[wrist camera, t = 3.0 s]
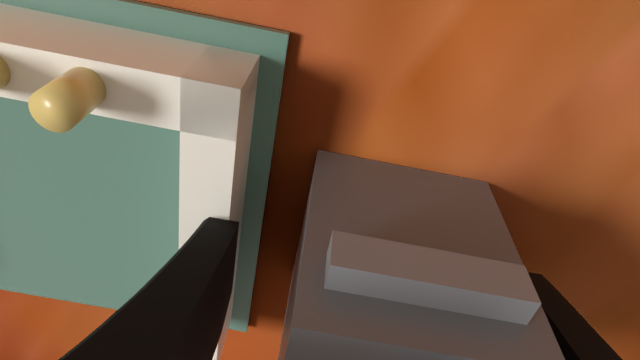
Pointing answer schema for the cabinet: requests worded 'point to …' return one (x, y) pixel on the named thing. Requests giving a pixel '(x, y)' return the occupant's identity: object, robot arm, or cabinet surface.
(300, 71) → the cabinet surface
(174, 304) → the robot arm
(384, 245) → the plug
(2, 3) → the frame
